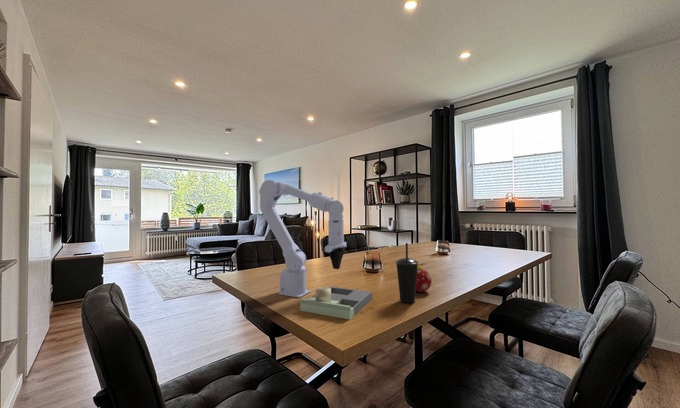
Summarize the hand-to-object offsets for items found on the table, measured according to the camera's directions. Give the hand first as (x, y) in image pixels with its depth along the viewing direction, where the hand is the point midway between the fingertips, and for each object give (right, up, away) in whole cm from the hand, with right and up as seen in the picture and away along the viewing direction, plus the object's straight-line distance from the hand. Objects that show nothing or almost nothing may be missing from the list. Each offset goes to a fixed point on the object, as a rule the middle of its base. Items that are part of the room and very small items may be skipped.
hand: (336, 268), depth 105 cm
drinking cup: (+24, -9, -9) cm, 28 cm away
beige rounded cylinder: (-4, -7, -16) cm, 18 cm away
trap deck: (+1, -9, -11) cm, 15 cm away
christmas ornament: (+32, -9, +2) cm, 33 cm away
